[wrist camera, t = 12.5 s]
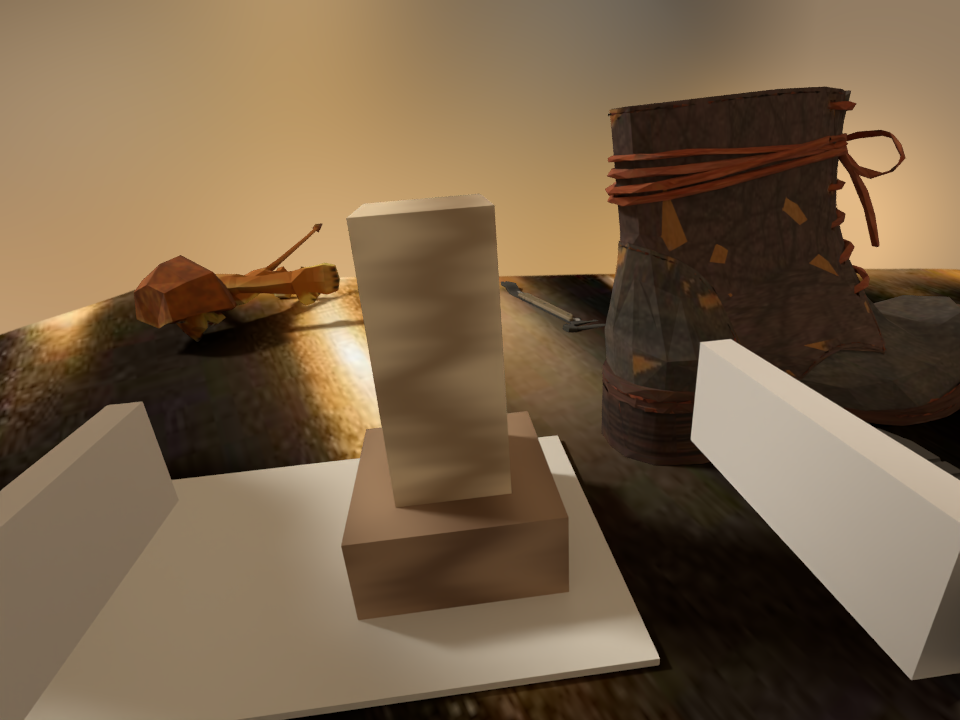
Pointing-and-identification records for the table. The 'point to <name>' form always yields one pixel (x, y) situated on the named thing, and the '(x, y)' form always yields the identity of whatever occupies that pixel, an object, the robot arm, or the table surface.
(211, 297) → the toy
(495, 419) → the column
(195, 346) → the table surface
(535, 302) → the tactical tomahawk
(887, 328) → the ankle boot
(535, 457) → the plinth
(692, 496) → the table surface
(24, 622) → the robot arm
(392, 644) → the white flat panel
